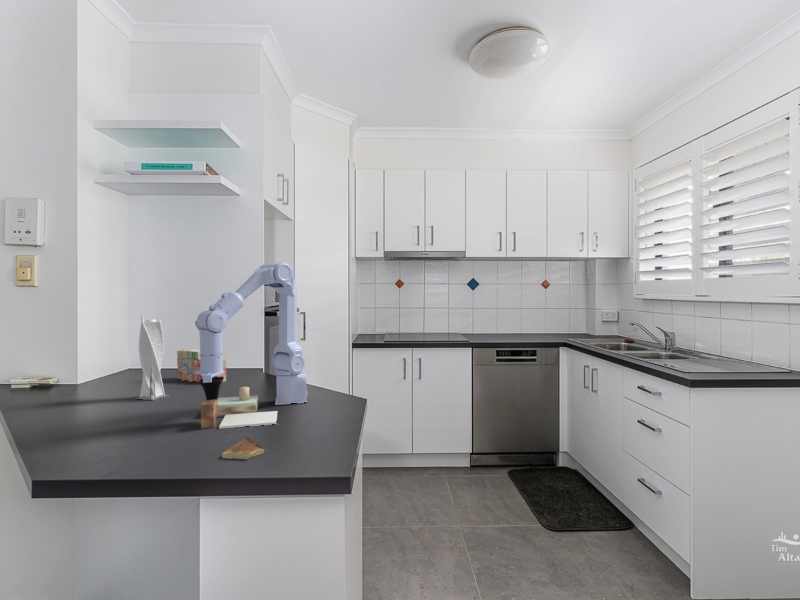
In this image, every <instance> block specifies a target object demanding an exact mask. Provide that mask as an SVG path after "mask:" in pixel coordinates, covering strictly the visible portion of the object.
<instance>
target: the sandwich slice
mask: <svg viewBox="0 0 800 600" xmlns="http://www.w3.org/2000/svg"><path fill="white" fill-rule="evenodd" d="M264 452H265V448H263V447H262V446H261V445H259V443H257V442H255V441H253V440H252V439H249V438H248V437H247V436H246V437H244V438H243V439H241V440H240V441H238V442H236V443H235V444H233V445H232V446H229V448H227V449H226V450H225V451H223V452H222V455H221V458H222V459H232V460H233V459H235V460H248V459H250V458H252V457H255V456H258V455H259V456H260V455H261V454H264Z"/></svg>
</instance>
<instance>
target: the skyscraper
mask: <svg viewBox="0 0 800 600" xmlns="http://www.w3.org/2000/svg"><path fill="white" fill-rule="evenodd" d="M140 316H141V317H140V318H141V323H140V329H139V338H138V354H139V361H140V366H141V369H142V374H143V375H142V381H141V387H140V394H139V397H136V398H135V399H143V400H142V401H148V400H154V401H156V399H157V400H160V399H159V398H161V399H163V397H164V398H168V397H169V396H170V395H169V394H166V393H165V388H164V385H163V383H164V382H163V379H162V375H161V369H162V366H163V360H164V356H165V355H164V353H165V339H164V331H163V325H162V320H161V319H160V318H159V319H158V320H156V318H146V319H145V321H144V315H143V314H141V315H140ZM167 396H168V397H167Z"/></svg>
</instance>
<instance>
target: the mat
mask: <svg viewBox="0 0 800 600" xmlns="http://www.w3.org/2000/svg"><path fill="white" fill-rule="evenodd" d="M277 413H278V410H272V411H259V412H258V411H257V412H256V413H242V414H227V415H225V416H223V419H222V420H221V422H220V424H219V426H218V429H219V430H223V429H235V428H236V427H237V428H246V427H245V426H250V427H259V426H260V427H261V425H264V426H273V425H272V424H276V425H277V422H276V421H277V420H278V414H277ZM237 428H236V429H237Z"/></svg>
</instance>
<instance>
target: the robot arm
mask: <svg viewBox="0 0 800 600" xmlns="http://www.w3.org/2000/svg"><path fill="white" fill-rule="evenodd" d="M264 285H266V286H268V287H270V288H271V289H274V291H275V292H276V293H277V294H278V299H279V300H278V343H277V345H275V347H274V348H273V356H272V358H271V362H270V363H271V368H272V369H273V370H274V372H275V374H276V398H275V402H274V403H275V404H274V405H275V406H279V405H280V406H281V405H292V404H291V403H297V404H305V403H304V402H307V403H308V401H307V400H308V399H307V397H308V390H307V373H302V371H303V370H304V369H305V363H306V361H305V357H304V355H303V349H302V348H301V346H300V345H299V344H298V343H297V338H298V337H297V336H298V335H297V334H298V331H297V329H298V328H297V325H298V323H297V322H298V320H297V319H298V316H297V315H298V314H297V313H298V288H297V284H296V281H295V270H294V269H293V268H292V267H291V265H289V264H288V263H286V262H277V263H264V264H261V266H259V267H258V268H256V269H255V270H254V272H253V274H251V275H250V276H249V277H248V278H247V279H246V281H244V282H243V283H242V284H241V285H240V286H239V287H238V288H237V289H236V290H235V291H234V292H233V291H228V292H226V293H225V292H223V293H222V294H221V295H220V297H221V298H220V299H218V301H216V302H215V303H213V304H211V305H209V307H208V308H209V309H208V310H204V311H201V312H200V313H199V314H198V316H197V318H196V320H195V321H194V324H195V327H196V329H197V330H198V331H199V350H200V371H196V374H200V375H201V376H202V377H203V379H201V380H200V382H199V384H200V386H201V388H202V390H203V392H204V395H205V398H206V399H205V400H214V399H218V398H219V395H220V390H221V386H222V383H223V382H222V381H223V379H224V377H222V376H221V377H217V375H220V374H223V373H224V370H223V358H224V357H223V356H224V350H223V349H224V345H223V344H224V343H223V342H224V341H223V334H224V333H223V330H225V329H226V328H227V325H228V321H229V320H231V318H233V317H234V316H235V314H237V312H239V311H240V310H241V309H242V308H243V307H244V301H245V300H246V299H247V298H248V297H250V296H251V295H252V294H254V293H255V292H256V291H257V290H258V289H260V288H261V287H263V286H264Z"/></svg>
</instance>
